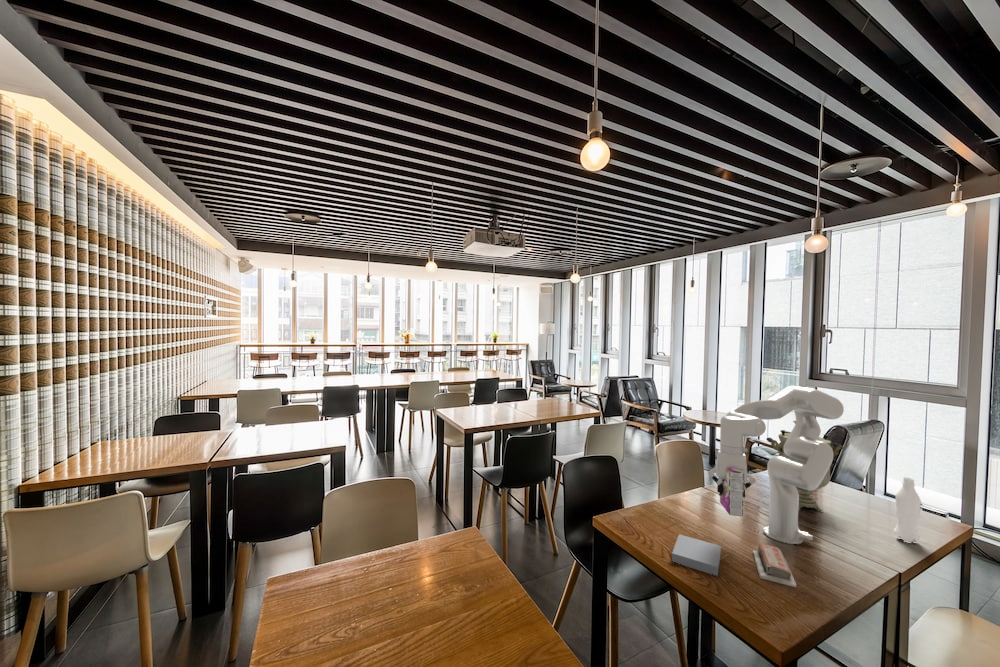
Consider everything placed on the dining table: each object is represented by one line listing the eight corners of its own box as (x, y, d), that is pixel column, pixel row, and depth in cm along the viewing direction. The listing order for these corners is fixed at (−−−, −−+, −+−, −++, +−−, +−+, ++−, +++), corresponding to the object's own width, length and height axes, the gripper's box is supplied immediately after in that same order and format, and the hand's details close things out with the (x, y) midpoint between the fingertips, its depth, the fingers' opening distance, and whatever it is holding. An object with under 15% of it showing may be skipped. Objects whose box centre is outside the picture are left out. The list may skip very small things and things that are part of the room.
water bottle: (918, 541, 157) (920, 478, 157) (920, 547, 152) (922, 483, 152) (893, 534, 162) (895, 474, 162) (894, 540, 156) (896, 478, 157)
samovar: (766, 509, 182) (768, 423, 182) (763, 491, 204) (765, 414, 204) (850, 528, 166) (853, 434, 166) (837, 506, 188) (840, 423, 188)
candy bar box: (718, 502, 154) (719, 460, 154) (732, 503, 153) (733, 462, 153) (728, 515, 143) (729, 470, 143) (743, 517, 142) (744, 472, 142)
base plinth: (720, 554, 142) (720, 545, 142) (717, 576, 129) (717, 567, 129) (678, 542, 150) (679, 534, 150) (671, 561, 136) (672, 553, 136)
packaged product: (752, 539, 145) (785, 547, 140) (752, 553, 145) (784, 560, 140) (760, 564, 128) (797, 574, 124) (759, 579, 128) (797, 589, 124)
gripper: (758, 450, 146) (758, 498, 146) (706, 443, 156) (706, 488, 156) (759, 456, 140) (758, 506, 140) (704, 448, 149) (704, 494, 149)
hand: (731, 496), depth 148 cm, fingers closed on candy bar box, 6 cm apart
